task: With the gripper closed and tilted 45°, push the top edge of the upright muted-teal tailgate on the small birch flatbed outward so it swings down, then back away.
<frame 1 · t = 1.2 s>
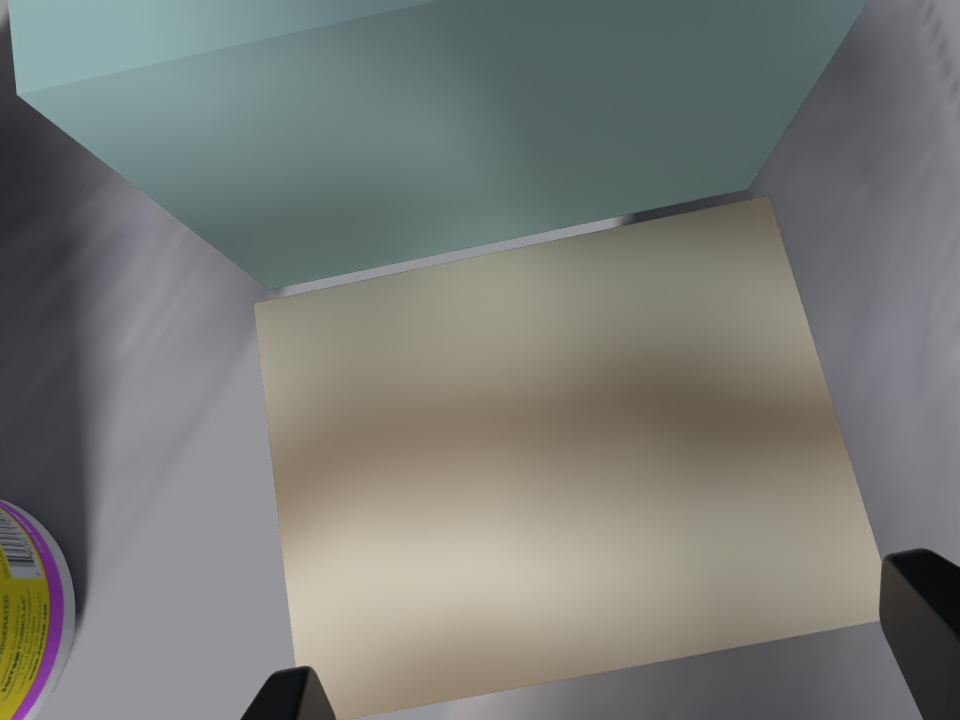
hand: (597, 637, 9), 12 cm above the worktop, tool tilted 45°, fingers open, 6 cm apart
tailgate: (480, 97, 16), point 7 cm above the worktop, hinge at -5.0°
flatbed: (549, 456, 21), on the worktop
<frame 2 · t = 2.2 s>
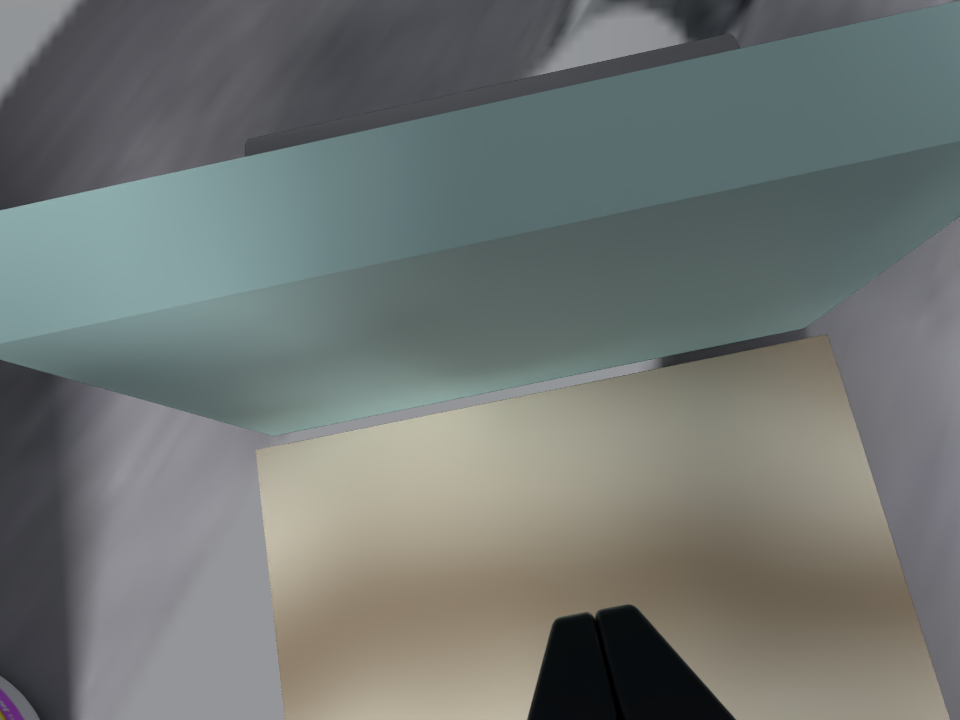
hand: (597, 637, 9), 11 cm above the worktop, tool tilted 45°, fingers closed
tailgate: (515, 266, 14), point 7 cm above the worktop, hinge at -5.0°
flatbed: (583, 621, 19), on the worktop
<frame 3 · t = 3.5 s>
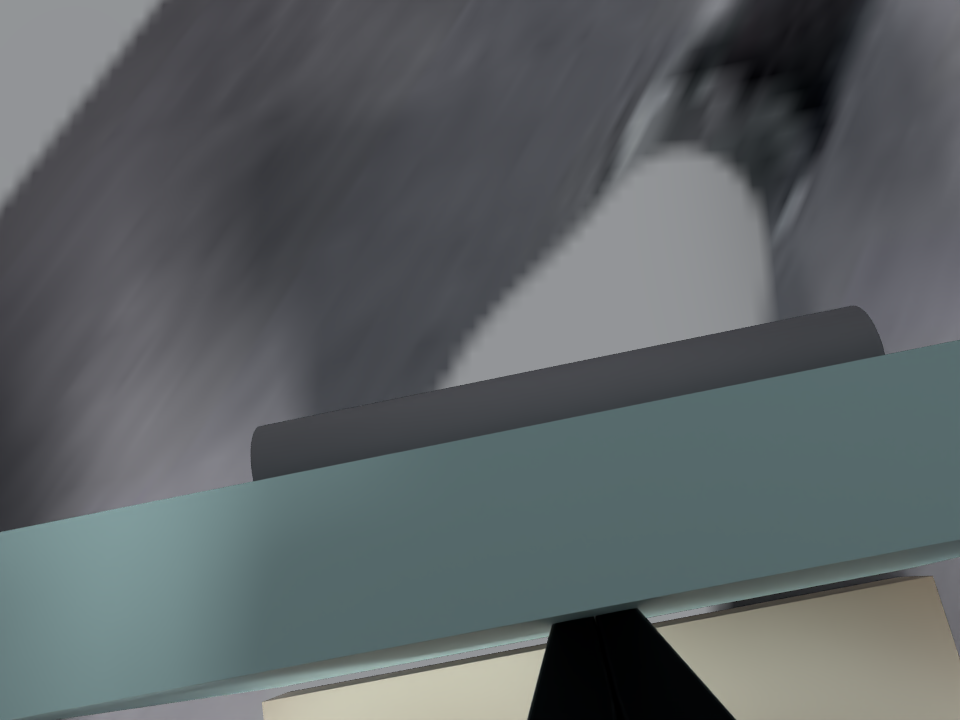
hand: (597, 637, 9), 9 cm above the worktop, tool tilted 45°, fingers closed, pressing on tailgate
tailgate: (575, 532, 11), point 7 cm above the worktop, hinge at 3.8°, touching gripper
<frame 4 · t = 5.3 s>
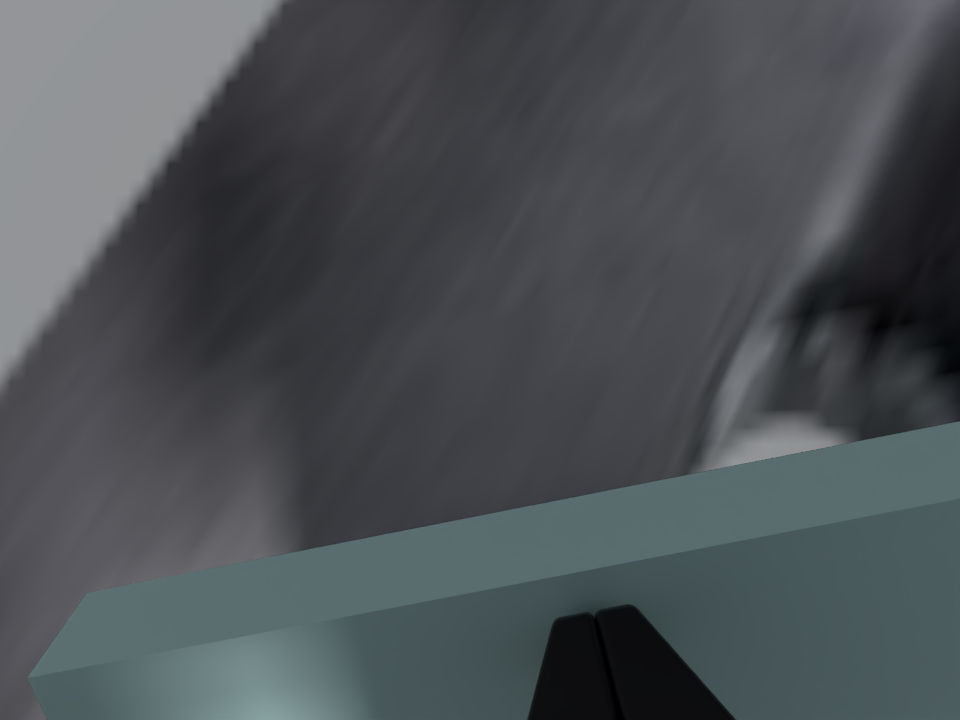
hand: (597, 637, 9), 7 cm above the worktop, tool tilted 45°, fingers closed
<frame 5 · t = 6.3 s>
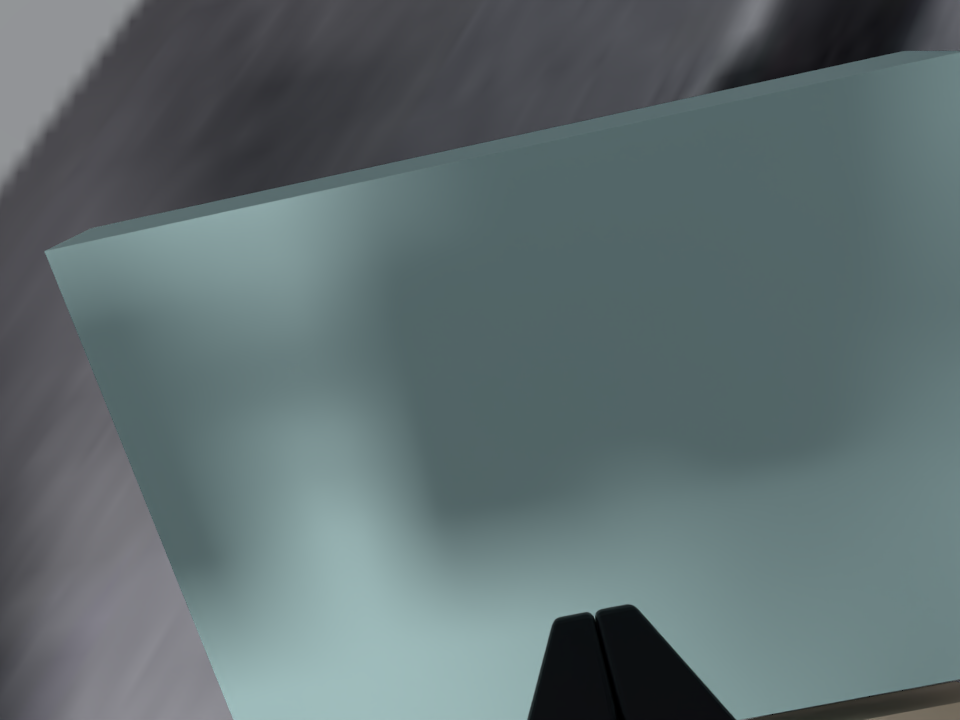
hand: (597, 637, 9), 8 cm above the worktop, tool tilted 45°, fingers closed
tailgate: (551, 453, 13), point 4 cm above the worktop, hinge at 55.3°
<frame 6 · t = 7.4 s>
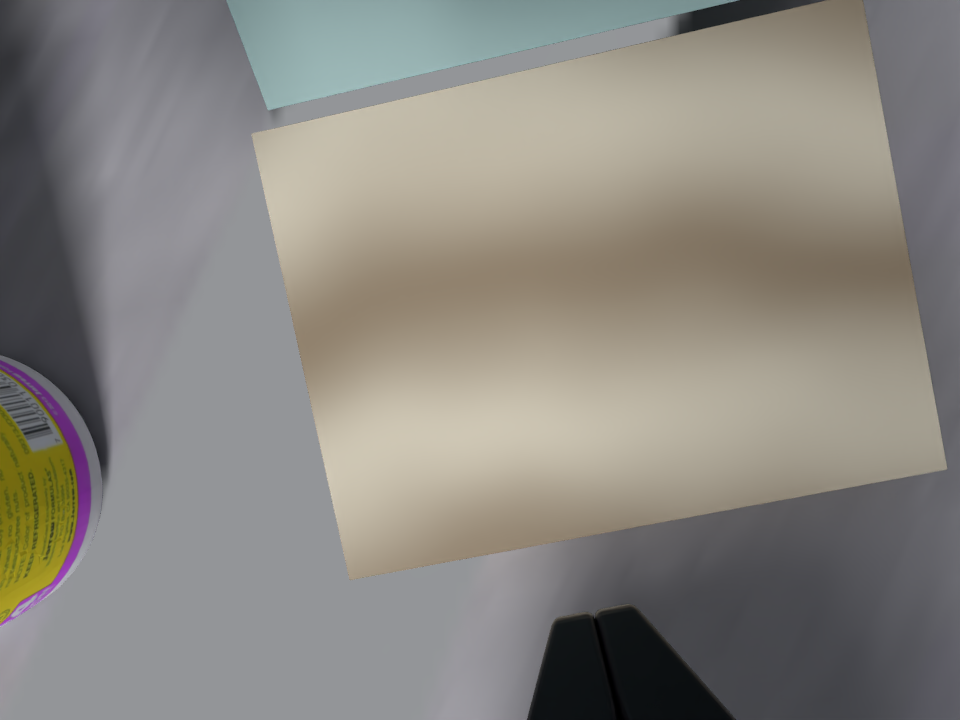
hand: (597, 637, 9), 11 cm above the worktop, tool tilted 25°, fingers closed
flatbed: (589, 299, 19), on the worktop
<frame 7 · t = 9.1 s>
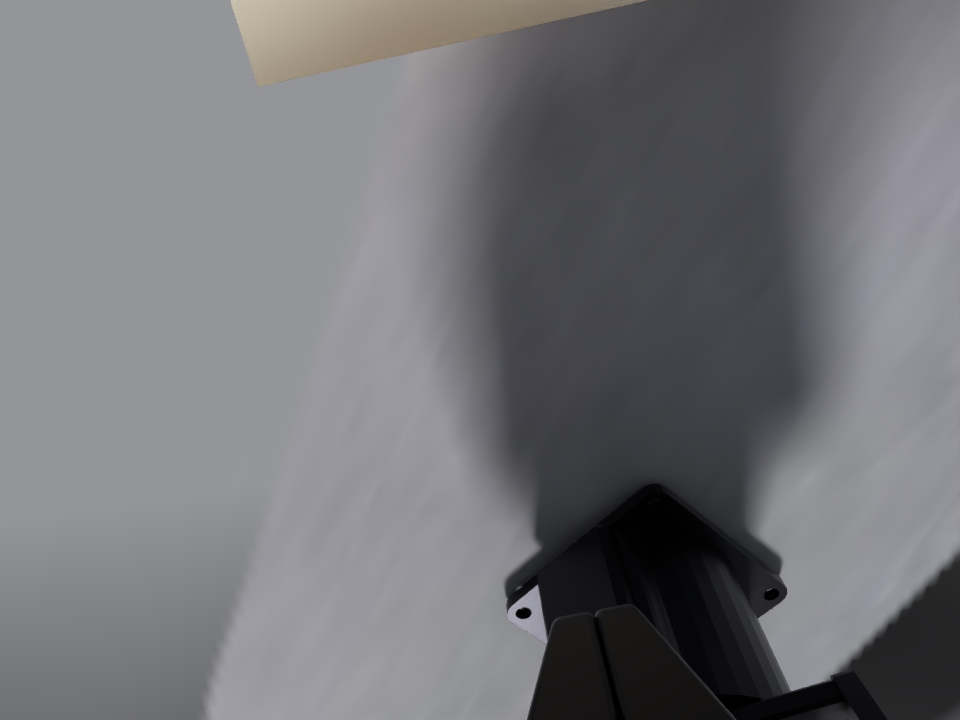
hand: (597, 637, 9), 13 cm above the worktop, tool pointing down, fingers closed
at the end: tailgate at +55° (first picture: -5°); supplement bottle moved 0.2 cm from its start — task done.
